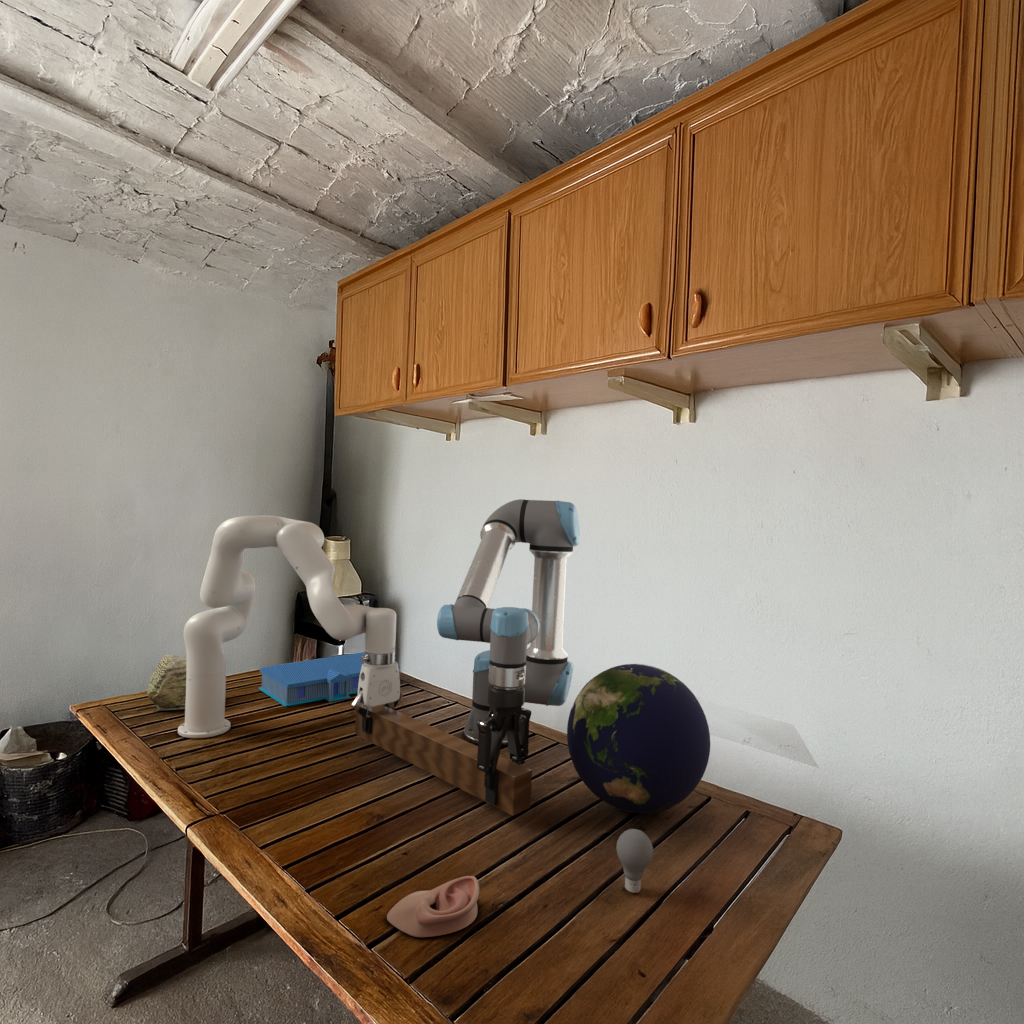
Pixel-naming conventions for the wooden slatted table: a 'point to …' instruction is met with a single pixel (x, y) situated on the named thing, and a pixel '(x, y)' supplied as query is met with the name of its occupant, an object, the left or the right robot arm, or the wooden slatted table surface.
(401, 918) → the anatomical model
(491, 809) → the wooden slatted table surface
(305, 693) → the model building
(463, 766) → the beam
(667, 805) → the globe
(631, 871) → the light bulb
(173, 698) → the fossil
